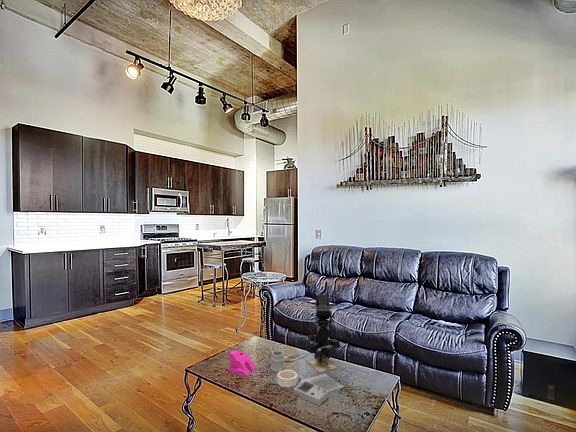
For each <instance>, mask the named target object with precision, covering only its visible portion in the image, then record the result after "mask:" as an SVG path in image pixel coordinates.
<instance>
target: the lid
mask: <svg viewBox="0 0 576 432" xmlns="http://www.w3.org/2000/svg"><path fill="white" fill-rule="evenodd" d="M328 358H329V357H327V356H325V355H324V354H322V360H321V363H319V361H318V358H317V359H311V360H308V361H305V363H306V364H307V365H308V366H310V367H311V368H312V369H314V370H315V371H317V372H318V373H323V372H328V371H330V370H335V369H337V368H340V365H339V364H337V363H335V362H334V361H331V359H328Z"/></svg>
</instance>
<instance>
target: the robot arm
mask: <svg viewBox="0 0 576 432" xmlns="http://www.w3.org/2000/svg"><path fill="white" fill-rule="evenodd" d="M330 300H331V299H330V298H329V297H328V295H327V294H318V296H317V297H315V305H314V306H315V307H316V310H315V324H317V330H316V331H317V332H316V333H315V335H314V334H312V333H311V334H308V335H307V339H308V341H309V342H311V343H308V344H305V346H304V351H306V352H307V353H310V354H314V357H313V360H315V359H317V358H318V361H319V363H321V360H322V354H324V355H325V356H327V357H329V358H328V359H329V360H331V353H332V352H333V351H334V348H335V349H338V348H340V347H341V342H340V341H339V340H337V339H335V338H330V337H331V335H330V327H329V325H331V324H332V322H333V313H332V309H330V304H331V301H330ZM329 338H330V339H329ZM313 343H314V344H313ZM333 347H334V348H333Z"/></svg>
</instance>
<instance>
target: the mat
mask: <svg viewBox="0 0 576 432" xmlns="http://www.w3.org/2000/svg"><path fill="white" fill-rule="evenodd" d="M303 381H307V382H309V383H312V384H314V385H317V386H319V387H321V388H323V389H325V390H326V391H327V392H328V393H329V392H333V391H335V390H339V389H341V388H344V387H345V386H344V385H343V384H341V383H340V382H338V381H336V380H335V379H334V378H332V377H330V376H329V375H327V374H326V373H322V374H319V375H315V376H312V377H311V376H310V377H309V378H304V379H301V380H300V382H301V383H302V382H303Z"/></svg>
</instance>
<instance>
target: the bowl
mask: <svg viewBox="0 0 576 432" xmlns="http://www.w3.org/2000/svg"><path fill="white" fill-rule="evenodd" d="M298 379H299V377H298V373H297V372H295V371H294V370H291V369H284V370H283V371H280V372H279V373H277V374H276V384H277V385H279V386H280V387H282V388H293V387H297V384H298V381H299V380H298Z"/></svg>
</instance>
